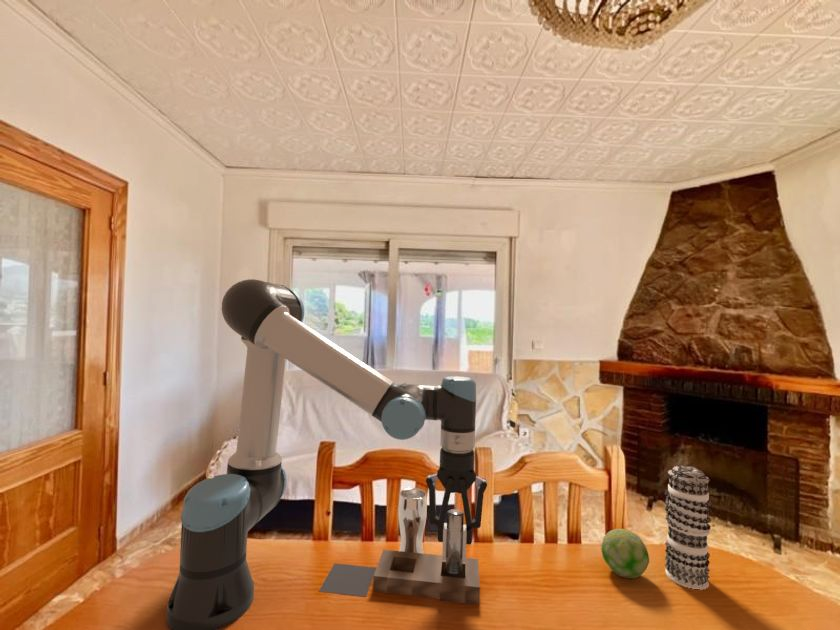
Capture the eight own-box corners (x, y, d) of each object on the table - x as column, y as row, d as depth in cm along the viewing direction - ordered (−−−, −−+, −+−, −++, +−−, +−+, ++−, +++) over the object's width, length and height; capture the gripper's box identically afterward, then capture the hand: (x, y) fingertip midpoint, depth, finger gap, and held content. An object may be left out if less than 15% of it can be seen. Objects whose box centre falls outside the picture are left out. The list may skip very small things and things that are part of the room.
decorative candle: (661, 580, 92) (663, 470, 92) (664, 561, 99) (666, 459, 100) (711, 597, 86) (713, 479, 87) (710, 575, 94) (711, 468, 95)
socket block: (372, 592, 84) (373, 575, 84) (382, 564, 94) (383, 549, 94) (479, 604, 81) (479, 587, 81) (477, 574, 91) (478, 559, 91)
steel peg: (445, 573, 85) (446, 516, 86) (445, 563, 89) (447, 508, 89) (462, 574, 85) (463, 517, 85) (462, 564, 89) (463, 509, 89)
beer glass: (422, 565, 94) (424, 501, 94) (393, 561, 95) (395, 497, 96) (427, 549, 101) (429, 489, 101) (400, 545, 102) (402, 486, 103)
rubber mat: (318, 593, 83) (318, 591, 83) (334, 564, 93) (334, 563, 93) (365, 598, 82) (365, 596, 82) (376, 569, 92) (376, 567, 92)
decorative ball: (621, 590, 87) (622, 544, 88) (591, 564, 97) (593, 522, 97) (659, 585, 90) (660, 540, 90) (626, 560, 99) (627, 519, 100)
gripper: (417, 451, 85) (414, 563, 84) (497, 456, 83) (494, 571, 82) (421, 441, 92) (418, 544, 92) (494, 445, 91) (491, 551, 90)
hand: (454, 556), depth 87 cm, fingers closed on steel peg, 3 cm apart
